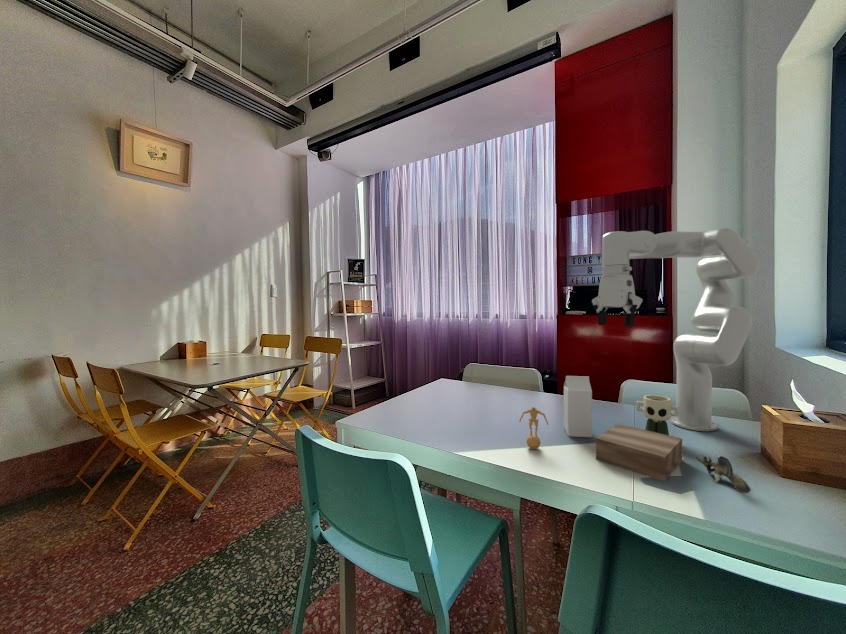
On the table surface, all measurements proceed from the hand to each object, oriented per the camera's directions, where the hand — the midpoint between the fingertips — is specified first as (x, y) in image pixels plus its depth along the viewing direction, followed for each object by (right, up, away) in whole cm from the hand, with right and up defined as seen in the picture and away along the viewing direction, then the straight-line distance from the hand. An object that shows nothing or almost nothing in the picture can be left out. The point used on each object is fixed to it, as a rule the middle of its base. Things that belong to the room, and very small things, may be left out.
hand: (615, 325), depth 109 cm
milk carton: (-10, -36, +4) cm, 38 cm away
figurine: (-28, -37, -6) cm, 46 cm away
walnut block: (-2, -36, -16) cm, 40 cm away
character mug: (+12, -36, -2) cm, 38 cm away
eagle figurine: (+10, -37, -28) cm, 47 cm away
